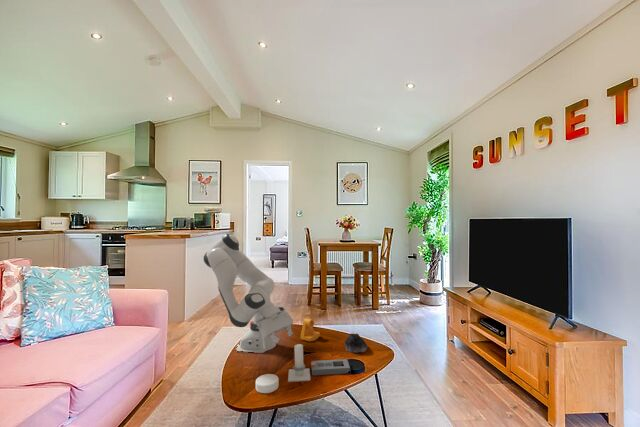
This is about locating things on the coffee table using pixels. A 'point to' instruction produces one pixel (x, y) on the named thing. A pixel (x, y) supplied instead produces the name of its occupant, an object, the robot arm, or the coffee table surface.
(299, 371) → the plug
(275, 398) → the coffee table surface
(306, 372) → the mat
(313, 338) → the bracket
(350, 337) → the crystal cluster
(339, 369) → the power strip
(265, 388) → the coaster
